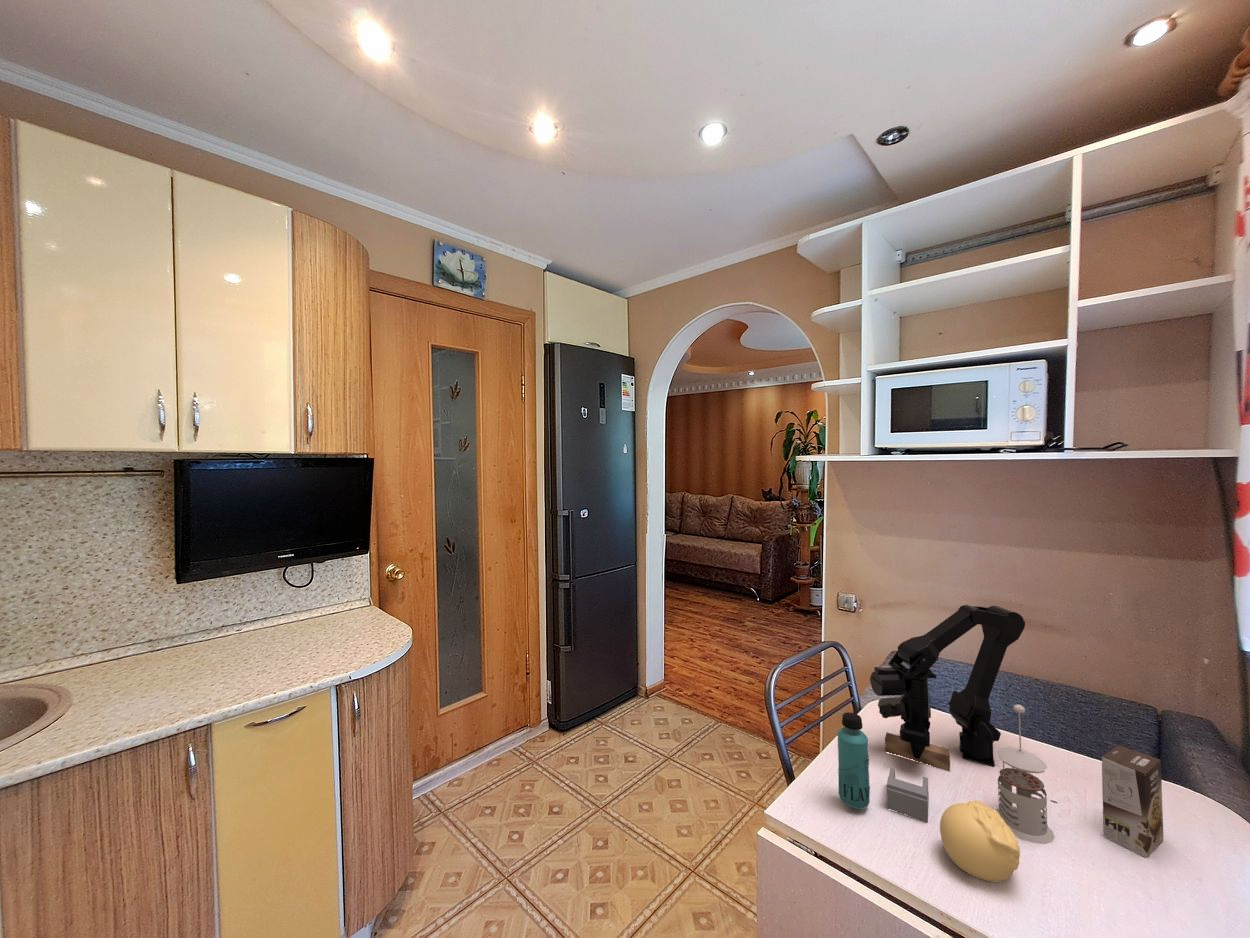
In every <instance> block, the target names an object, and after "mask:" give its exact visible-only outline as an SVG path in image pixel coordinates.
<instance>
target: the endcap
mask: <svg viewBox="0 0 1250 938" xmlns="http://www.w3.org/2000/svg"><path fill="white" fill-rule="evenodd" d="M929 795H930V794H929V777H927V776H922V785H917V784H915V783H911V782H909V781H904V780H902V779H898V778H896V768H895V767H892V766H890V767H889V773H888V776H887V781H886V805H887V807H886V808H888V809H891V810H894V811H897V812H899V813H898V814H900V813H902V814H901V815H903V814H906V815H908V816H907V817H909V816H911V817H910V818H912V817H913V818H912V819H915V818H916V819H915V820H917V821H921V822H924V823H929V800H930V799H929V798H930V796H929ZM888 809H887V810H888ZM891 810H890V811H891ZM894 811H893V812H894ZM897 812H896V813H897ZM906 815H905V816H906Z"/></svg>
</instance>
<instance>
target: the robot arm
mask: <svg viewBox="0 0 1250 938" xmlns="http://www.w3.org/2000/svg"><path fill="white" fill-rule="evenodd" d="M978 625H979V626H981V630H982V633H983V634H982V635H983V638H982V639H983V640H982V643H981V645H980V647H979V650H978V653H977V655H976V659H975V661H974V664H973V667H972V670H971V673H970V675H969V677H968V680H967V682H966V683H967V684H966V686H965V688H964V689H962V690H961V691H959V692H958V691H957V690H954V691H952V694H951V698H950V700H949V702H948V703H947V705H949V708H948V712H949V713H950V716H951V717H952V718H953V719H954V721H955V723H956V724H957V725H958V726H960V727H961V731H959V751H960V753H962V758H963V759H965V760H968V761H969V760H970V761H973V762H977V763H980V764H984V765H988V766H992V767H995V766H996V765H995V758H994V742H999V741H1000V737H1001V734H1002V733H1001V732H1000V731H999V730H998V729H997V728H996V727H995V726H994V725H993V724H992V723H991V718H992V710H991V705H990V701H989V700H990V696H991V693H992V690H993V688H994V685H995V681H996V680H997V676H998V673H999V671H1000V668H1001V666H1002V662H1003V660H1004V657H1005V654H1006V652H1007V649H1008V647H1009V646H1010V645H1012V644H1013V643H1015V642H1016V641H1017V640H1019V638H1020V637H1021V635H1022V633H1023V632H1024V630H1025V627H1026V621H1025V620H1024V618H1023V616H1022V615H1021V614H1020V613H1018V612H1016V611H1012V610H1011V609H1008V608H1004V607H1003V606H999V605H990V606H988V607H987V606H986V607H985V606H981V605H980V606H978V605H975V606H974V605H969V604H963V605H961V606H960V607H959V608H958V610H956V611H955V612H954V613H952V614H951V615H950V616H948V617H947V618H946V619H944V620H943V621H941V622H940V623H939V624H937V625H936V626H935V627H933V628H932V629H931V630H929V631H927V632H926V633H925V634H923V635H920V636H913V637H910V638H909V639H907V640H905V641H902V642H901V643H900V644H899V645H898V646H897V650H896V652H895V653H894V655H893V656H892V657H891V658H890V660H889V662H888V663H887V665H888V666H889V667H881V666H875V667H874V668H873V669H874V671H872V673H871V675H870V677H869V681H870V686H871V689H872V691H873V693H874V694H875V695H876V696H877V697H882V696H883V697H884V696H887V698H886V697H885V698H881V699H878V703H877V707H878V709H879V710H878V712H879V714H880V715H881V716H882V719H888V718H893V717H900V719H901V720H902V721H903V723H901V724H900V728H899V736H900V739H901V740H902V741H906V742H910V745H911V749H912V752H913V756H914V758H916V759H919V758H920V756H921V755H922V753H923V751H924V749H925V747H930V744H931V733H930V728H931V721H930V719H931V717H932V712H931V711H932V710H931V708H932V707H931V706H930V705H929V704H930V703H929V702H930V700H929V699H930V697H929V679H937V678H938V676H937V675H936V674H935V673H933V671H932V670H931V668H932V667H933V665H935V664H936V662H937V661H938V659H939V656H940V653H941V652H942V651H944V650H945V649H947V647H948V646H950V645H952V644H953V643H954V642H956V641H957V640H958V639H959V638H961V637H962V636H963V635H965V634H967V633H968V632H969V631H971V630H973V628H975V627H976V626H978ZM902 663H904V664H906V666H908V667H909V668H908V667H906V666H905V665H903V664H902ZM888 696H891V697H888ZM892 696H901V697H892Z"/></svg>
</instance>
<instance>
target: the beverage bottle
mask: <svg viewBox="0 0 1250 938" xmlns="http://www.w3.org/2000/svg"><path fill="white" fill-rule="evenodd" d="M841 724H842V726H843V727H842V728H840V729H839V730H838V731H837V735H836V736H837V755H838V756H837V757H838V760H837V761H838V767H837V775H838V776H837V777H838V780H837V781H838V784H837V789H838V797H839V798H840V800H841V801H842V803H844V804H845V805H846V806H848V807H850V808H853V809H859V810H860V809H862V810H863V809H867V807H868V806H869V805H870V801H871V800H870V796H871V785H870V776H871V775H870V769H869V768H870V755H869V752H870V751H869V738H868V736H867V734H866V733H865V732H864V731H862V729H863V720H862V717H861V716H860V715H859V714H857V713H854V712H848V711H847V712H844V713H843V714H842V720H841Z"/></svg>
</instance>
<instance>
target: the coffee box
mask: <svg viewBox="0 0 1250 938" xmlns="http://www.w3.org/2000/svg"><path fill="white" fill-rule="evenodd" d="M1101 779H1102V781H1101V782H1102V783H1101V784H1102V819H1103V820H1102V827H1103V829H1102V831H1103V833H1102V835H1103V837H1104V838H1106V839H1108V840H1110V841H1111V842H1114V843H1115V844H1118V845H1120V846H1122V847H1124V848H1126V849H1127V850H1130V851H1132V852H1134V853H1136V854H1138V855H1140V856H1141V855H1142V857H1143V856H1144V857H1143V858H1149V856H1150V855H1151V854H1152V853H1153V852H1154V851H1155V850H1156V849H1157V848H1158V847H1159V846H1160V845H1161V844H1162V843H1163V842H1164V813H1163V810H1164V809H1163V788H1162V787H1163V785H1162V783H1163V782H1162V759H1159V758H1157V757H1154V756H1151V755H1149V754H1146V753H1143V752H1140V751H1138V750H1134V749H1130V748H1128V747H1125V746H1122V745H1120V744H1117V745H1116V746H1115V747H1113V748H1112V749H1111V750H1109V751H1108V752H1107V753H1105V754H1104V755H1102V756H1101Z"/></svg>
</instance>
